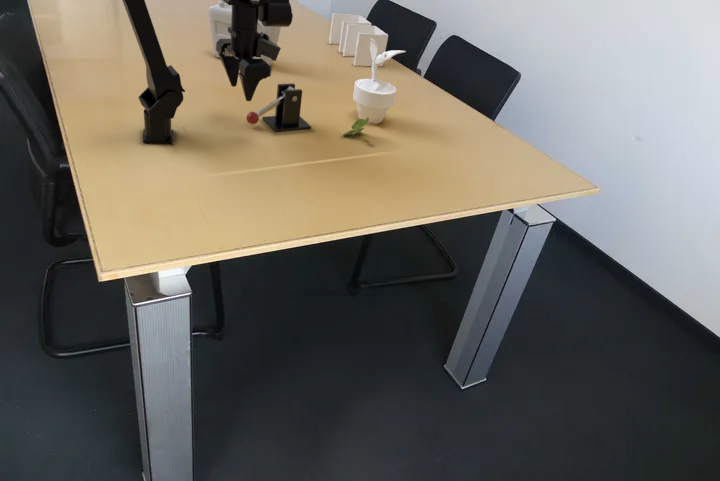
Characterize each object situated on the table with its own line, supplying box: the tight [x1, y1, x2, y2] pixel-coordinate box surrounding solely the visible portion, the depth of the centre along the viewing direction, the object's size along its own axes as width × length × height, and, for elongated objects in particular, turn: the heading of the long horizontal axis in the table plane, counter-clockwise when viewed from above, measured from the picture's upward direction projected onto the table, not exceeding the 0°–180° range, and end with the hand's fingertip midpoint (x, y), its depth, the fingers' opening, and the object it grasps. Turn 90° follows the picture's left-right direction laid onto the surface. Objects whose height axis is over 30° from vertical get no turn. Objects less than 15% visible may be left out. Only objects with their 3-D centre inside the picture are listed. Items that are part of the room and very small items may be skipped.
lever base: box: [261, 82, 312, 133], centre depth 142 cm, size 10×8×10 cm
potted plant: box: [352, 35, 407, 125], centre depth 151 cm, size 13×12×25 cm
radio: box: [208, 0, 282, 67], centre depth 174 cm, size 22×8×25 cm, turn 76°
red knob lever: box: [245, 86, 294, 125], centre depth 139 cm, size 14×3×3 cm
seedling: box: [343, 118, 370, 144], centre depth 144 cm, size 7×8×7 cm
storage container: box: [328, 12, 389, 67], centre depth 205 cm, size 25×11×11 cm, turn 24°
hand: (241, 93), depth 133 cm, fingers open, 9 cm apart
